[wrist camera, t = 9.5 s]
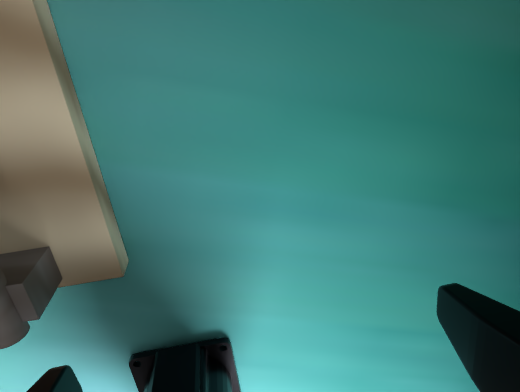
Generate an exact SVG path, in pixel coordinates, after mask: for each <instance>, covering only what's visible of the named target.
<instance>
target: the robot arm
mask: <svg viewBox="0 0 520 392" xmlns="http://www.w3.org/2000/svg"><path fill="white" fill-rule="evenodd" d="M437 317H438V320H439V322H440V324H441V325H442V327H443V329H444V331H445V333H446V334H447V336H448V338H449V340H450V342H451V343H452V345H453V347H454V349H455V351H456V352H457V354H458V356H459V358H460V360H461V361H462V363H463V365H464V367H465V369H466V370H467V372H468V374H469V376H470V377H471V379H472V380H473V382H474V383H475V385H476V386H477V388H478V389H479V391H480V392H520V311H518V310H515V309H513V308H511V307H509V306H507V305H504V304H502V303H500V302H498V301H495V300H493V299H491V298H489V297H487V296H484V295H482V294H480V293H478V292H475V291H473V290H471V289H469V288H467V287H464V286H462V285H460V284H457V283H452V284H447V285H442V286H440V287H439V289H438V296H437ZM222 345H225V346H222ZM136 361H139V362H136ZM129 367H130V369H131V372H132V375H133V377H134V380H135V383H136V386H137V388H138V391H139V392H241V391H240V386H239V381H238V376H237V371H236V366H235V361H234V356H233V351H232V346H231V342H230V340H229V339H228V338H218V339H213V340H207V341H202V342H196V343H191V344H185V345H180V346H175V347H169V348H164V349H158V350H153V351H147V352H142V353H136V354H133V355H132V356H131V358H130V361H129ZM27 392H83V391H82V388H81V385H80V384H79V382H78V380H77V378H76V376H75V374H74V372H73V370H72V368H71V367H70V366H68V365H64V366H59V367H55V368H51V369H49V370H48V371H47V372H46V373H45V374H44V375H43V376H42V377H41V378H40V379H39V380H38V381H37V382H36V383H35V384H34V385H33V386H32V387H31V388H30V389H29V390H28V391H27Z"/></svg>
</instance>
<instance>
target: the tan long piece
mask: <svg viewBox="0 0 520 392" xmlns="http://www.w3.org/2000/svg"><path fill="white" fill-rule="evenodd" d="M128 262H129V259H128V256H127V253H126V250H125V247H124V244H123V240H122V237H121V234H120V231H119V228H118V225H117V221H116V218H115V215H114V212H113V209H112V206H111V202H110V199H109V196H108V193H107V190H106V187H105V183H104V180H103V177H102V174H101V171H100V168H99V165H98V161H97V158H96V155H95V152H94V149H93V146H92V142H91V139H90V136H89V133H88V130H87V127H86V123H85V120H84V117H83V114H82V111H81V108H80V104H79V101H78V98H77V95H76V92H75V89H74V85H73V82H72V79H71V76H70V73H69V70H68V67H67V63H66V60H65V57H64V54H63V51H62V48H61V44H60V41H59V38H58V35H57V32H56V29H55V25H54V22H53V19H52V16H51V13H50V10H49V6H48V3H47V0H0V349H3V348H7V347H9V346H12V345H14V344H15V343H17V342H19V341H20V340H21V339H22V338H24V337H25V336H26V334H27V333H28V331H29V329H30V326H29V324H28V322H27V321H32V320H38V319H40V317H41V315H42V314H43V312H44V310H45V308H46V307H47V305H48V303H49V301H50V300H51V298H52V296H53V295H54V293H55V291H56V289H57V288H59V287H65V286H71V285H77V284H83V283H88V282H94V281H100V280H106V279H112V278H118V277H124V274H125V271H126V268H127V265H128Z"/></svg>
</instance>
